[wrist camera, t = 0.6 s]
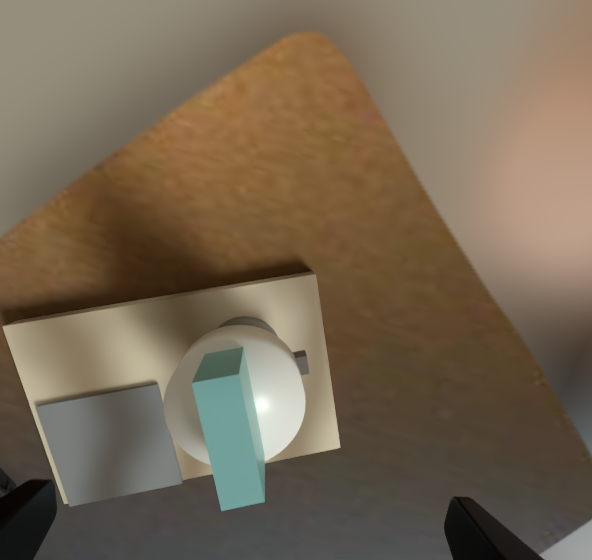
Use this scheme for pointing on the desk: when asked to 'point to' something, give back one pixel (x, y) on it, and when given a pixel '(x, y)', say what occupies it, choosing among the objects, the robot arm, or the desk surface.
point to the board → (154, 380)
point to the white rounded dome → (236, 407)
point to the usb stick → (5, 484)
